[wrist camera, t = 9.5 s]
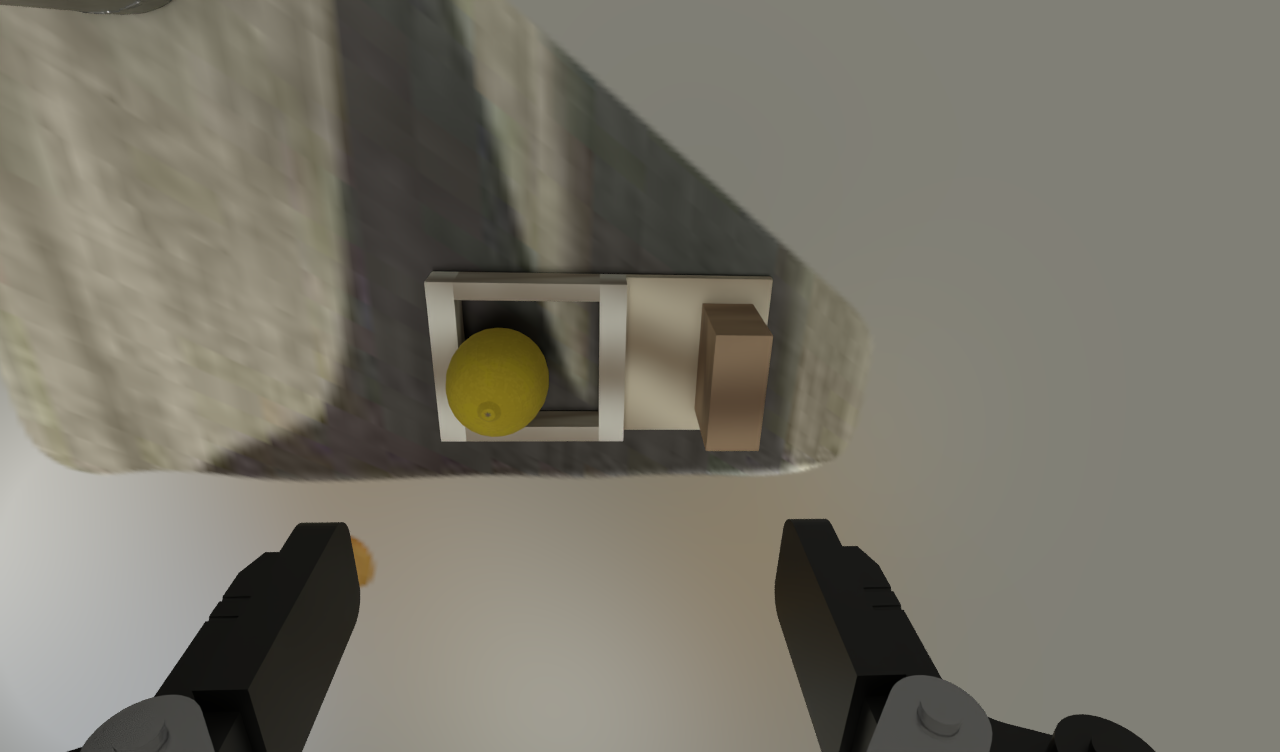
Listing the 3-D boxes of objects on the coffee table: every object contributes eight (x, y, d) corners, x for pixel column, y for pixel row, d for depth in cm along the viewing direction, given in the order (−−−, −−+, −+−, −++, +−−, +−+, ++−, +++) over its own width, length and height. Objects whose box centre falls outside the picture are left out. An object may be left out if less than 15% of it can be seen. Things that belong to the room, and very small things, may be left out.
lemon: (562, 322, 40) (555, 380, 33) (540, 401, 43) (529, 472, 35) (469, 298, 39) (441, 352, 32) (452, 380, 42) (422, 449, 34)
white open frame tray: (432, 271, 38) (407, 304, 33) (770, 276, 40) (795, 308, 35) (447, 424, 43) (428, 474, 38) (752, 425, 44) (772, 473, 39)
